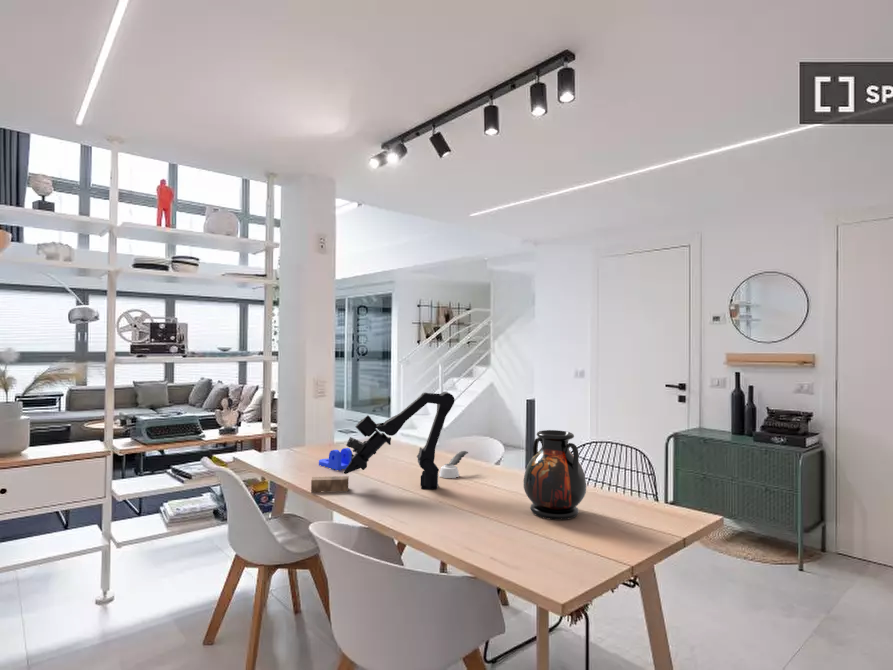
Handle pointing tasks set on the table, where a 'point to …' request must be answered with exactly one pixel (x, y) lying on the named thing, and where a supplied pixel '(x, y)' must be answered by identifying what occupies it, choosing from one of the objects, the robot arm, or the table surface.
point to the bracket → (337, 459)
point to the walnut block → (329, 483)
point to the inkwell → (452, 466)
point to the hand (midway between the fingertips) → (344, 473)
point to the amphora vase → (554, 476)
